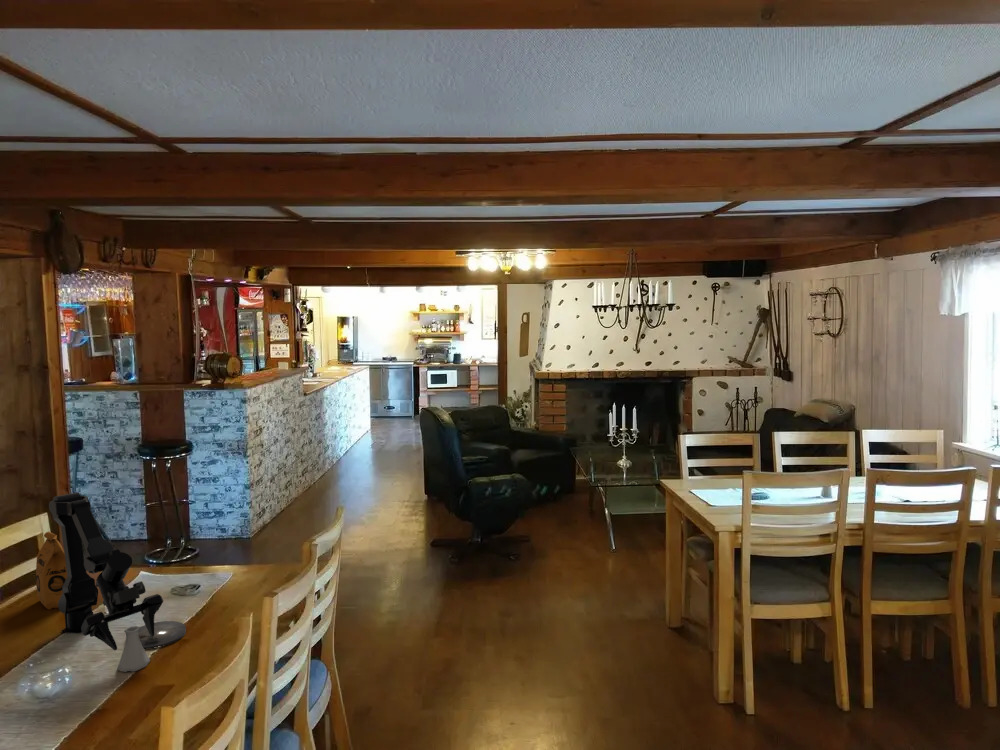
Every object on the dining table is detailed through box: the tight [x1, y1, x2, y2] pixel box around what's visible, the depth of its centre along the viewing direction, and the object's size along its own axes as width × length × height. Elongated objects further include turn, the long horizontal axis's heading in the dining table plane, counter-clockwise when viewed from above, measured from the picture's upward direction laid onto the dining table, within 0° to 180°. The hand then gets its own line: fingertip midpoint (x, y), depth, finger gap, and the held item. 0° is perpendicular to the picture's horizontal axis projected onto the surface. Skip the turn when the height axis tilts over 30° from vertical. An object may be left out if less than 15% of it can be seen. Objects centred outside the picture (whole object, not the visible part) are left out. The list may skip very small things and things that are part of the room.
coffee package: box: [35, 531, 67, 610], centre depth 218 cm, size 10×12×22 cm
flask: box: [116, 625, 151, 673], centre depth 177 cm, size 7×7×10 cm
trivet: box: [138, 620, 187, 650], centre depth 194 cm, size 15×15×1 cm
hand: (134, 642), depth 176 cm, fingers open, 9 cm apart
